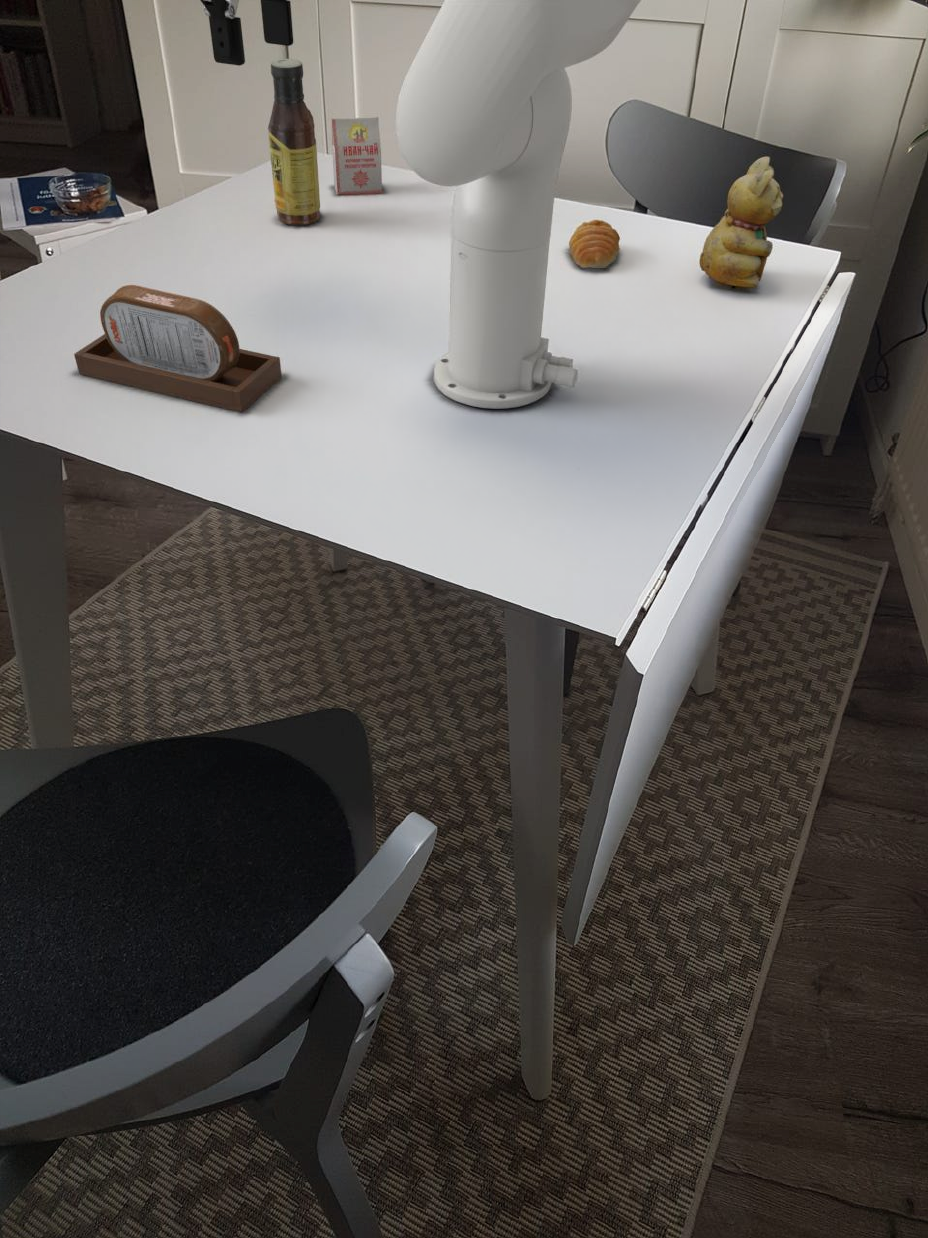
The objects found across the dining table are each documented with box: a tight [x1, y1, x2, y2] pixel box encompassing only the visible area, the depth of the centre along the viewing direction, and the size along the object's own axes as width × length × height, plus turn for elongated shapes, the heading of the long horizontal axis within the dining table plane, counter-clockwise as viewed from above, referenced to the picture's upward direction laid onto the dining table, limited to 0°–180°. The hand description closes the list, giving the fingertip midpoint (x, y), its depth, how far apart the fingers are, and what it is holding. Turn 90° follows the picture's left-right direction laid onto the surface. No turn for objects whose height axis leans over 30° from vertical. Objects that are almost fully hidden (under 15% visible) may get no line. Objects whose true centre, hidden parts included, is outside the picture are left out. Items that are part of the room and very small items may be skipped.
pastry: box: [568, 219, 621, 269], centre depth 127 cm, size 9×7×4 cm
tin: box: [99, 284, 240, 382], centre depth 97 cm, size 15×3×8 cm, turn 69°
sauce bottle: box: [267, 58, 321, 226], centre depth 129 cm, size 7×6×20 cm
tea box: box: [331, 116, 383, 196], centre depth 142 cm, size 4×7×10 cm, turn 103°
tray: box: [73, 333, 283, 413], centre depth 100 cm, size 20×8×2 cm, turn 69°
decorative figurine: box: [699, 156, 784, 293], centre depth 118 cm, size 10×8×15 cm
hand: (255, 53), depth 97 cm, fingers open, 9 cm apart
